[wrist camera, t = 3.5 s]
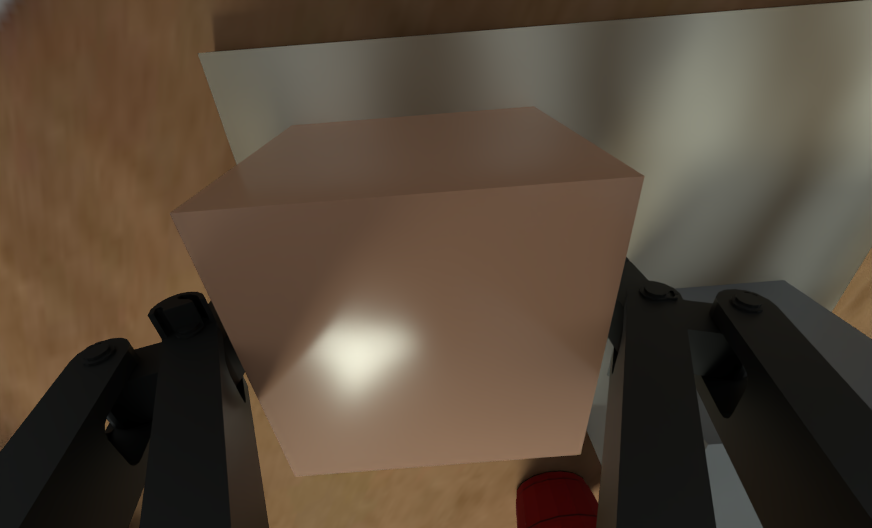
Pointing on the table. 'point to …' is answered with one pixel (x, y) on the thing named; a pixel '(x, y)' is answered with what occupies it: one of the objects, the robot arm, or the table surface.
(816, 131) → the cream cloth mat
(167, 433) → the robot arm
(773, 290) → the gray cube
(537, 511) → the plastic cup
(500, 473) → the table surface
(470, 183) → the salmon pink cube
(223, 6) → the table surface
